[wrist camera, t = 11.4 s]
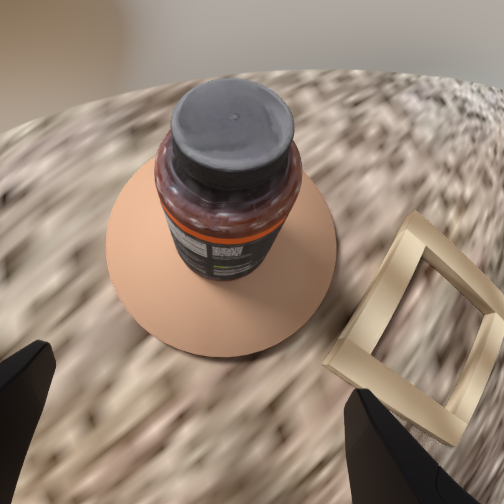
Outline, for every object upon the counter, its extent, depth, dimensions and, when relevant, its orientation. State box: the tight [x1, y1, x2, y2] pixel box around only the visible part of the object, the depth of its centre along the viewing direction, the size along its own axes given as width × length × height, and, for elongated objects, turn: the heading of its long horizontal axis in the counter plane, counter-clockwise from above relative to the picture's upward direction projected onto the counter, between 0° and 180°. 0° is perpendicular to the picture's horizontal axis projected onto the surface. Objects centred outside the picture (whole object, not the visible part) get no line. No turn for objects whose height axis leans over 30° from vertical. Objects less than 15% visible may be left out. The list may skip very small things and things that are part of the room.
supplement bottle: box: [154, 78, 303, 282], centre depth 15 cm, size 6×6×11 cm
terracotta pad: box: [106, 156, 337, 357], centre depth 21 cm, size 15×15×1 cm
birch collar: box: [322, 210, 504, 447], centre depth 20 cm, size 13×13×2 cm
